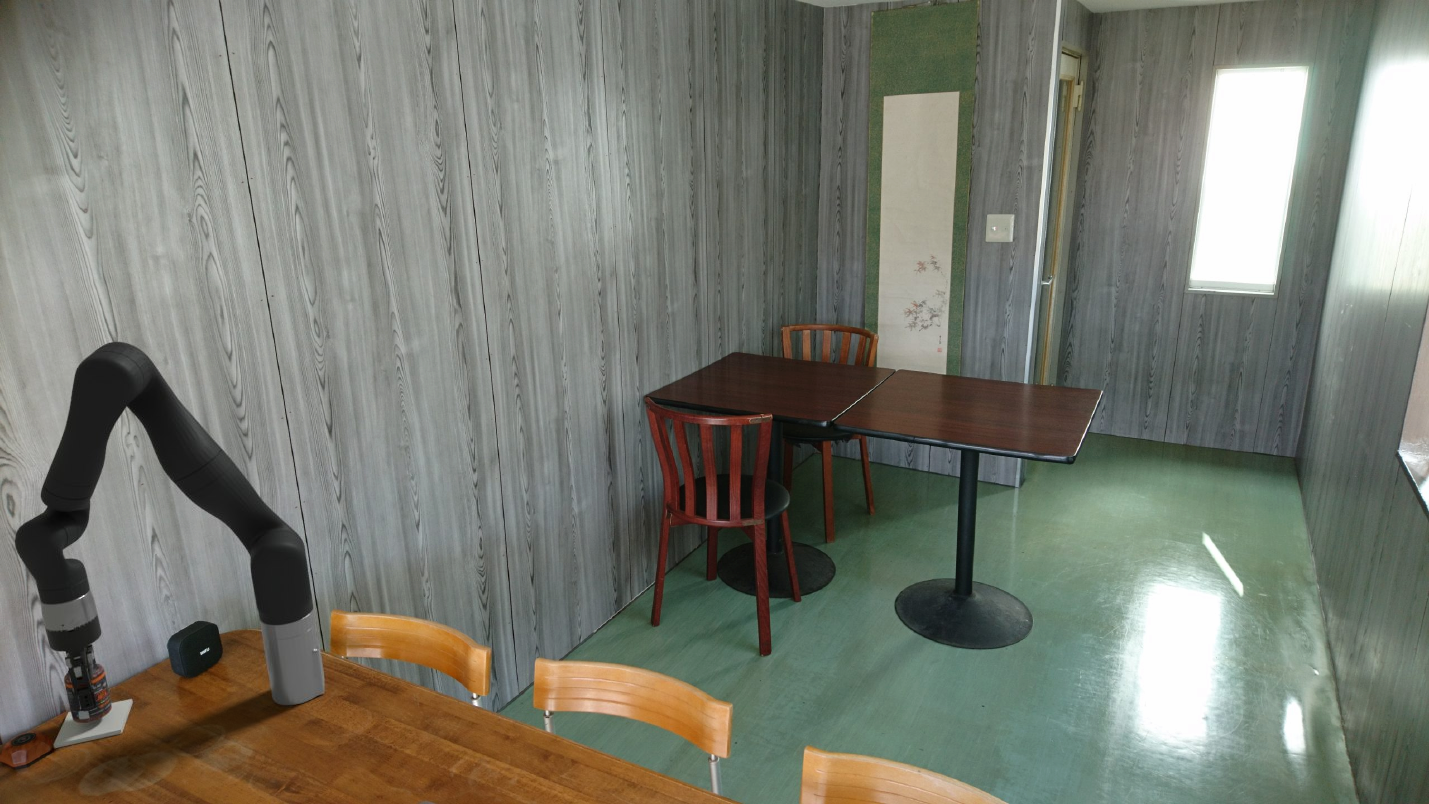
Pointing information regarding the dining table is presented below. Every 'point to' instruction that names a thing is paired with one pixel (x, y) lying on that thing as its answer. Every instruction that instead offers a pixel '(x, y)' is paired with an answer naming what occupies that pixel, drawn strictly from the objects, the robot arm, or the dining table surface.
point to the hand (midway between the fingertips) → (90, 699)
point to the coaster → (94, 726)
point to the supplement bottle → (100, 695)
